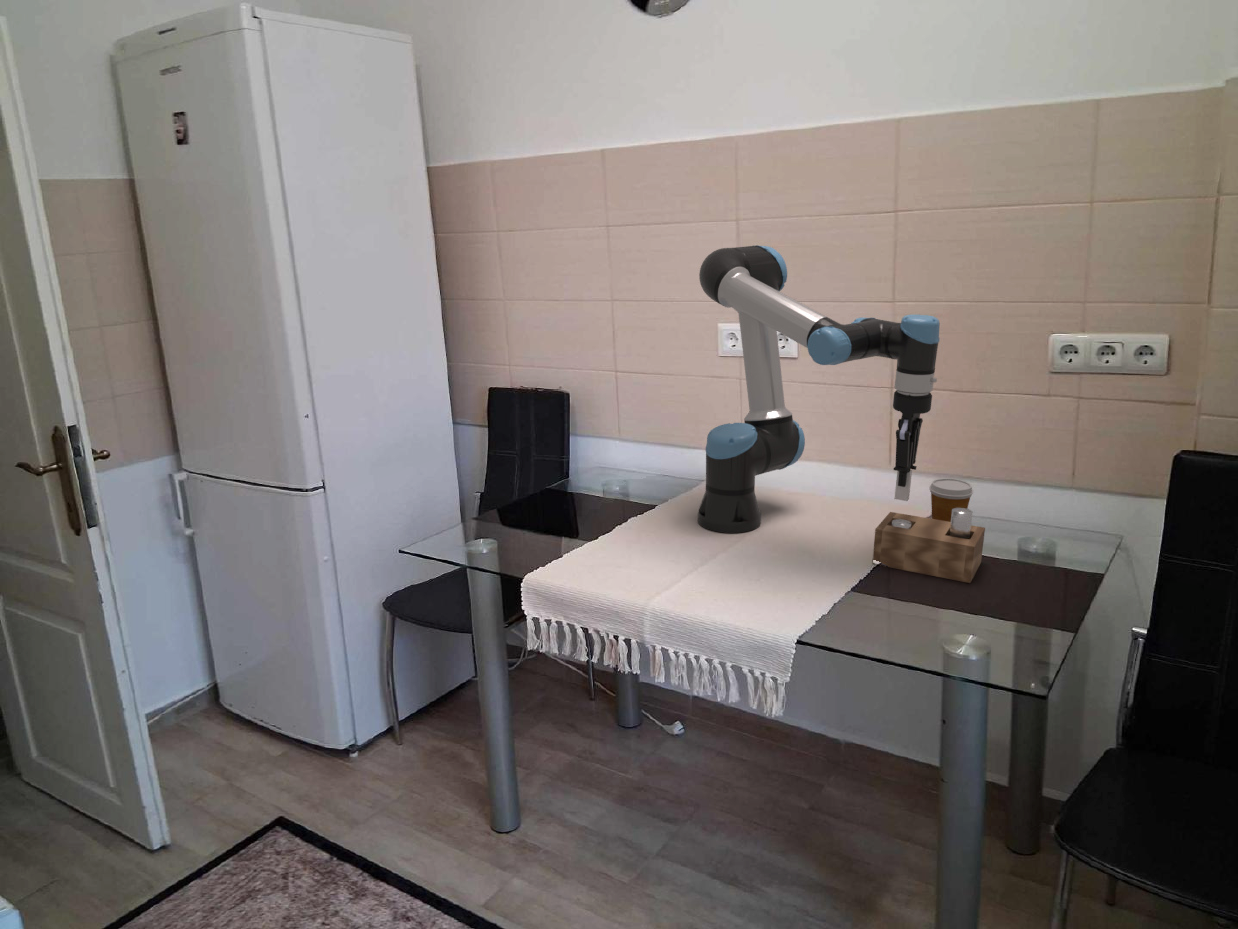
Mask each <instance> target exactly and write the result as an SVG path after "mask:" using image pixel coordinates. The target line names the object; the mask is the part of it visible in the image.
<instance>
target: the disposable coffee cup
mask: <svg viewBox="0 0 1238 929" xmlns="http://www.w3.org/2000/svg"><path fill="white" fill-rule="evenodd" d="M928 487H929V492H930V500H931V503H930V504H931V505H930V506H931V519H936V520H942V521H948V522H951V515H952V509H954V508H966V509H969V504H970V500H971V497H972V495H974V489H973V486H972V484H971V483H970V482H967V481H965V480H962V479H957V478H947V477H946V478H937V479H933V480H932V481H931V484H930V485H929V486H928Z"/></svg>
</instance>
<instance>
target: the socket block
mask: <svg viewBox="0 0 1238 929" xmlns="http://www.w3.org/2000/svg"><path fill="white" fill-rule="evenodd" d="M896 519H903V520H907V521H910V522H911V529H906V528H901V527H895V526H892V521H893V520H896ZM950 524H951V522H948V521H942V520H936V519H932V518H930V517H923V516H917V515H911V514H904V513H901V512H900V513H899V512H893V511H889V513H888V514H887V515H886V516H885V517H884V518H883V519H882V521H880V523H879V524H878V525H877V527H876V528H875V529H874V542H873V554H872V555H873V556H872V561H873V560H876V561H879V562H881V563H882V564H885V565H887V566H888V568H891V569H892V568H893V569H897V570H902V571H907V572H911V573H912V572H913V573H917V574H922V575H927V576H933V577H937V578H942V579H948V580H951V581H957V582H962V583H968V584H971V583H972V580H973V579H974V577H975V575H976V573H977V571H978V569H979V567H980V565H981V563H982V556H983V547H984V540H985V532H986V527H982V526H977V525H972V524H971V530H970V539H963V538H958V537H952V536H949V534H950Z"/></svg>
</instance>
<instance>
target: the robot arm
mask: <svg viewBox="0 0 1238 929" xmlns="http://www.w3.org/2000/svg"><path fill="white" fill-rule="evenodd" d="M698 274H699V276H698V277H699V283H700V286H701V289H702V290H703V293H704V294H705V295H707V297H709V298H710V299H711V300H712V301H713V302H715V303H717V304H718V305H721V306H722V307H725V308H728V309H729V308H732V309H733V310H734V311H736V312H737V313H738V320H739V321H738V322H739V331H740V338H741V347H742V355H743V356H742V357H743V363H744V366H743V367H744V372H745V373H744V374H745V382H746V391H747V400H748V408H749V409H748V410H749V412H748V413H747V414H746V416H745V417H744V418H743V420H744V422H733V423H723V424H720V425H718V426H715V427H714V428H711V430H710V431H709V432H708V434H707V436H706V446H705V492H704V494H703V498H702V500H701V503H700V505H699V509H698V511H697V523H698V525H700V527H702V528H704V529H706V530H709V531H713V532H718V533H728V534H738V533H745V532H746V533H747V532H751V531H754V530H756V529H757V528H759V527H760V526H761V524H762V521H761V520H762V513H761V510H760V507H759V504H758V503H759V502H758V499H757V497H756V496H757V495H756V494H755V492H756V491H755V486H756V485H755V484H756V476H759V475H762V474H766V473H770V472H773V471H778V470H779V471H780V470H784V469H785V468H787V467H789V466H793V465H794V464H795V463H797V462H798V461H799V460H800V458H801V457H802V455H803V452H804V450H805V446H806V444H805V443H806V442H805V441H806V438H805V434H804V433H805V432H804V431H803V428H802V427H800V424H799V422H797V421H795V420H794V417H793V413H792V412H791V410H789V409H788V408H786V405H785V404H786V403H785V397H784V396H785V395H784V387H783V386H784V385H783V384H784V383H783V376H782V368H781V366H782V365H781V359H780V349H779V339H778V338H779V337H778V333H780V334H782V335H783V336H785V337H787V338H789V339H790V340H792V341H794V342H795V343H797V344H799V345H801V346H802V347H804V348H806V349H807V352H808V355H809V356H810V357H811V359H812V361H813V362H814V363H815V364H818V365H819V366H837V365H841V364H843V363H848V362H853V361H856V360H857V361H859V360H862V359H867V358H872V357H873V358H874V357H879V358H880V357H881V358H886V359H890V360H891V359H892V360H897V361H896V370H895V381H894V389H895V391H894V393H893V400H892V408H893V409H894V411H897V412H900V413H901V418H899V419H898V424H897V427H898V429H896V431H895V439H896V445H895V466H894V467H893V471H896V472H897V473H896V481H895V488H894V489H895V490H894V500H899V501H904V502H908V501H909V500H910V494H911V484H912V476H913V470H917V466H916V465H915V464H916V462H917V460H916V459H917V454H918V446H919V442H920V434H921V428H922V424H923V421H924V420H923V418H922V417H921V415H922V414H927V413H929V412H930V411H931V409H932V401H933V395H932V391H933V389H934V383H937V382H938V379H937V378H936V377H935V371H936V363H937V356H938V354H937V353H938V348H939V343H940V320H939V319H938V318H937V317H935V316H932V315H928V314H906V315H904V316H903V317H902V318H901V321H900V322H897V321H889V320H885V319H878V318H876V317H863V316H862V317H857V318H856V319H854V321H852V322H850V323H847V324H844V323H843V324H841V323H840V322H838V321H835V320H834V319H831V318H829V317H828V316H826V315H825V314H823V313H821V312H819V311H817V310H815V309H813V308H811V307H810V306H807V305H805V304H803V303H802V302H800V301H798V300H796V299H794V298H792V297H790V296H788V295H786V294H785V293H783V292H782V290H783V288H784V287H785V283H786V282H787V280H788V269H787V264H786V262H785V260H784V258H783V256H782V254H780V252H779V251H777V249H775V248H773V247H771V246H767V245H758V244H757V245H748V246H738V247H737V246H736V247H724V248H723V247H722V248H719V249H716V250H714V251H712V252H711V253H710V254H708V255H707V256H706V257H705V258H704V260H703V261H702V263H701V265H700V268H699V273H698Z"/></svg>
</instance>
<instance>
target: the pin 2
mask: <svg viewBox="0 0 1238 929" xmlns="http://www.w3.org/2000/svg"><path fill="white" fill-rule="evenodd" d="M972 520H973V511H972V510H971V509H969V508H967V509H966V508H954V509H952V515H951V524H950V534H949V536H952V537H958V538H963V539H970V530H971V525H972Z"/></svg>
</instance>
